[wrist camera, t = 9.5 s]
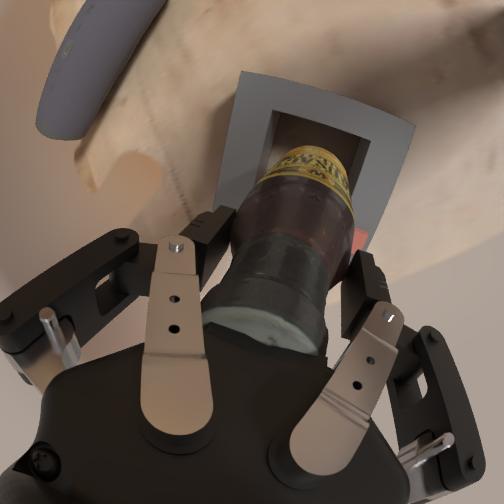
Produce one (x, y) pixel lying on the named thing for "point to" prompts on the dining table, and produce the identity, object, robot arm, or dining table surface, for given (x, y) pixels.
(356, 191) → the bottle socket block
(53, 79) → the bluetooth speaker
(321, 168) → the sauce bottle
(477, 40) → the dining table surface
